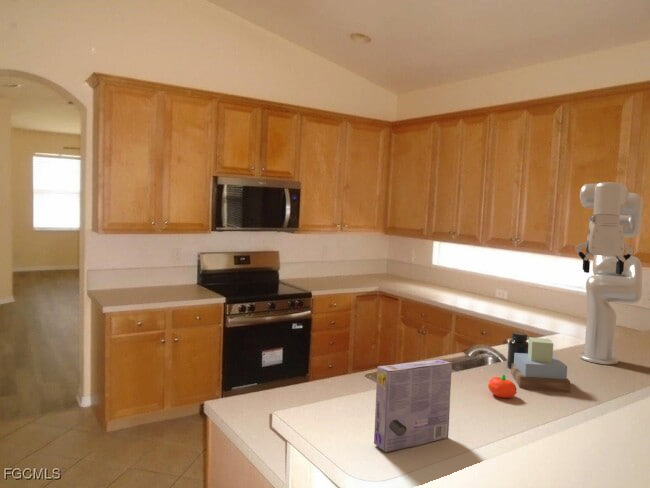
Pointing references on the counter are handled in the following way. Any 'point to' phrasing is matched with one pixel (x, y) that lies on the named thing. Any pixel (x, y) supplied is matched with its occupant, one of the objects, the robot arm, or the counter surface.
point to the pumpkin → (502, 387)
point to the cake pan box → (412, 404)
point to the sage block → (540, 350)
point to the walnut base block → (540, 382)
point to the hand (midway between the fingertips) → (602, 273)
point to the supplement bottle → (517, 346)
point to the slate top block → (540, 367)
